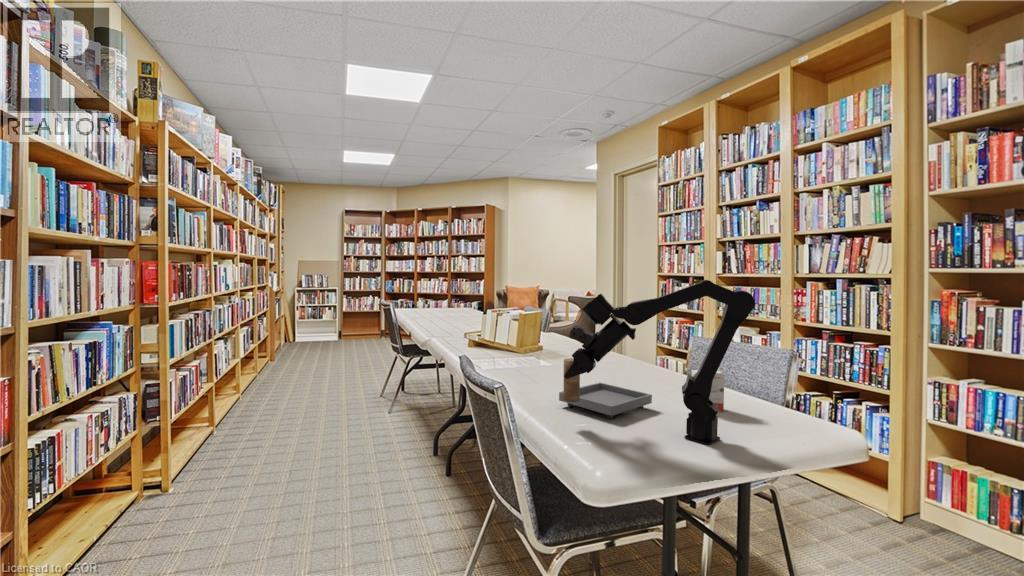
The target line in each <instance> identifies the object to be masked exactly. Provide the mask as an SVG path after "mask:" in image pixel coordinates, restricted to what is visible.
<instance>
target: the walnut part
mask: <svg viewBox="0 0 1024 576" xmlns="http://www.w3.org/2000/svg"><path fill="white" fill-rule="evenodd" d="M573 362H574V358H573V357H572V358H564V359H563V391H564V401H567V402H577V401H579V400H580V387H581V386H580V385H581V384H580V383H581V380H580V379H581V374H580V375H577V376H574V377H571V378H568V379H566V378H565V377H564V375H565V373H566V372H567V371H568V369H569V368H570V366H571V365H572V364H573Z"/></svg>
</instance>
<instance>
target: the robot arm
mask: <svg viewBox="0 0 1024 576" xmlns="http://www.w3.org/2000/svg"><path fill="white" fill-rule="evenodd" d="M704 297H707V298H710V299H713V300H715V301H718V302H719V303H722V304H723V305H724V306H723V311H722V315H721V320H720V324H719V326H718V328H717V330H716V331H715V334H714V336H713V338H712V340H711V343H710V345H709V347H708V349H707V350H706V351H707V352H706V353H705V355H704V358H703V359H702V361H701V364H700V366H699V367H698V371H697V373H696V374H695V375H694V376H692V374H691V373H690V374H689V373H688V374H687V377H686V380H685V381H684V383H683V385H682V386H681V393H682V399H683V404H684V406H685V407H686V408H687V410H690V412H688V415H687V416H688V417H687V418H686V425H685V426H686V431H685V433H686V435H684V439H687V440H690V441H694V442H696V443H699V444H703V445H707V446H709V445H710V446H711V444H713V443H715V442H718V441H721V437H720V436H718V425H719V424H718V423H719V422H718V420H719V419H718V418H719V416H717V415H718V412H716V409H715V405H714V403H713V402H712V401H711V400H710V399H709V397H710V393H711V388H712V382H713V379H714V376H715V374H716V372H717V371H719V368H720V367H721V364H722V362H723V359H724V357H725V355H726V353H727V351H728V349H729V347H730V345H731V343H732V341H733V338H734V336H735V334H736V333H737V330H738V329H739V327H740V326H741V325H742V324H743V323H744V322H745V320H747V318H748V317H749V316H750V314H751V313H752V311H753V310H754V308H755V306H756V301H755V298H754V296H753V295H752V294H751V293H750V292H748V291H745V290H743V289H742V290H741V289H736V290H731V289H729V288H726V287H723V286H722V285H718V284H716V283H714V282H713V281H711V280H709V279H704V280H703V279H702V280H700V281H698V282H697V283H695V284H691V285H689V286H686V287H684V288H680V289H678V290H675V291H672V292H670V293H666V294H663V295H661V296H659V297H654V298H649V299H642V300H636V301H632V302H630V303H628V304H627V305H626V306H617V307H614V306H613V305H612V304H611V303H610V302H609V301H608V300H607V299H606V297H605V296H604V295H603V294H602V293H599V294H598V295H597V296H596V297H594V298H593V299H592V300H591V301H589V302H588V303H586V304H585V306H584V307H583V308H581V311H582V313H584V314H585V315H586V316H587V317H588V319H590V321H591V322H593V324H594V325H595V326H596V325H600V326H603V325H604V324H605V323H606V322H607V321H608V320H609V319H610V321H608V323H606V324H605V325H604V326H603V327H602V328H601V329H600V330H599V331H596V332H595V333H592V332H591V331H589V330H587V329H586V328H583V327H582V326H579V325H577V324H574V325H573V326H572V328H571V330H570V331H569V334H568V338H569V339H572V340H575V341H577V342H579V343H581V344H582V345H581V346H582V347H580V348H578V349H577V350H575V351H574V352H573V353H572V354H571V357H572V359H574V362H573V364H572V365H571V366H570V368H569V369H568V371H567V372H566V373H565V375H564V374H563V378H564V377H565V378H566V379H568V378H571V377H574V376H577V375H580V376H581V375H582V374H589V373H591V372H592V371H593V370H594V369H595V368H596V367H597V365H596V363H599V362H600V361H601V360H602V359H603V358H604V357H605V356H607V355H608V353H610V352H611V351H612V350H613V349H615V347H617V345H618V344H620V343H621V341H623V340H624V339H625V338H626V337H627V336H628V338H630V339H631V340H635V338H636V331H637V328H635V327H634V328H633V327H631V326H639V325H641V324H643V323H644V322H646V321H648V320H649V319H652V318H653V317H655V316H656V315H658V314H661V313H662V312H664V311H667V310H670V309H673V308H677V307H679V306H682V305H684V304H688V303H690V302H692V301H696V300H699V299H701V298H704ZM620 319H621V320H623V321H622V322H621V320H620ZM630 325H631V326H630Z"/></svg>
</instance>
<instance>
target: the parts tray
mask: <svg viewBox="0 0 1024 576" xmlns="http://www.w3.org/2000/svg"><path fill="white" fill-rule="evenodd" d="M652 399H653V394H650V393H646V392H642V391H638V390H634V389H633V390H632V389H630V388H625V387H621V386H618V385H612V384H607V383H603V382H596V383H592V384H588V385H584V386H580V400H579V401H577V402H567V401H564V390H563V391H559V393H558V400H559V402H563V403H567V406H568V407H569V408H571V407H574V406H577V407H579V408H583V409H587V410H590V411H593V412H597V413H599V414H600V413H601V414H603V415H606V418H607V419H610V420H611V419H613V418H614V416H616V415H619V414H623V413H624V412H628V411H631V410H634V409H638V410H641V409H643V408H644V406H647V405H650V404H653V400H652Z"/></svg>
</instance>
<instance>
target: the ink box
mask: <svg viewBox="0 0 1024 576" xmlns="http://www.w3.org/2000/svg"><path fill="white" fill-rule="evenodd" d="M698 370H699V369H698ZM698 370H697V369H695V370H693V369H692V370H691V376H694V375H695V374H696V373H697V371H698ZM709 399H710V400H711V401H712V402H713V403H714V405H715V409H716V411H719V412H720V411H722V412H724V406H725V405H724V404H725V403H724V402H725V401H724V400H725V374H724V372H722V371H719V370H717V372H716V374H715V376H714V379H713V382H712V388H711V393H710V397H709ZM722 412H721V413H722Z"/></svg>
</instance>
